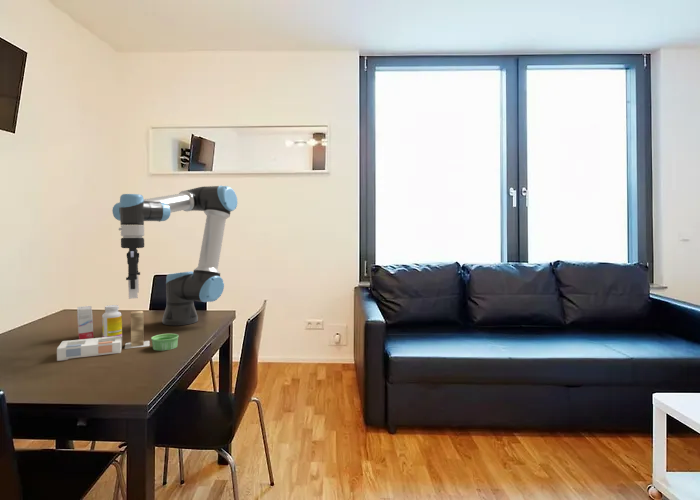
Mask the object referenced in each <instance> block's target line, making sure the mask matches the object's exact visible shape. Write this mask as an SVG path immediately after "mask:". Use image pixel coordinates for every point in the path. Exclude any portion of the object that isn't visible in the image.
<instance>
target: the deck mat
mask: <svg viewBox="0 0 700 500" xmlns="http://www.w3.org/2000/svg"><path fill="white" fill-rule="evenodd" d="M150 343H151V341H150V340H144V345H141V346H131V342H126V343H125V344H124V345H125V346H124V349H126V350H127V349H133V348H144V347H145V348H146V347H150V346H151V344H150Z"/></svg>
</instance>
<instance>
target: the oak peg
mask: <svg viewBox="0 0 700 500" xmlns="http://www.w3.org/2000/svg"><path fill="white" fill-rule="evenodd" d="M144 335H145V334H144V310H133V311H130V343H131V346H141V345H144V341H145V340H144Z"/></svg>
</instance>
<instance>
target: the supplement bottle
mask: <svg viewBox="0 0 700 500" xmlns="http://www.w3.org/2000/svg"><path fill="white" fill-rule="evenodd" d="M119 309H120V308H119V304H118V305H117V304H110V305H105V306H104V311H105V312H104V313H102V315H101V321H102V322H101V323H102V327H101V328H102V329H101V330H102V337H113V336H122V337H123V320H122V318H123V317H122V313H121V311H119Z"/></svg>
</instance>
